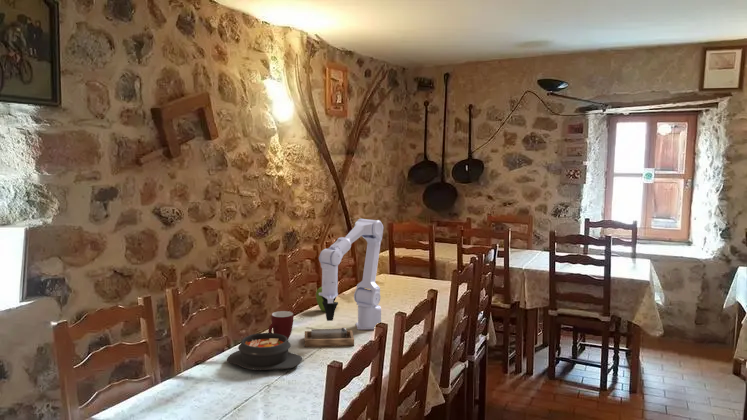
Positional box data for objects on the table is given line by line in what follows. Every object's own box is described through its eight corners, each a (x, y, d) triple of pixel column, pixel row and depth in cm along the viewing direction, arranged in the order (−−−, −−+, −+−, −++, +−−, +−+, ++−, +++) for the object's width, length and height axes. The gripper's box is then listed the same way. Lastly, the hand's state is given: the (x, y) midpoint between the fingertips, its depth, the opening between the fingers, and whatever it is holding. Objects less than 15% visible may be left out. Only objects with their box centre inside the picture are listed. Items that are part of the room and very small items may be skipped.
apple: (322, 315, 233) (323, 289, 232) (311, 310, 239) (312, 285, 238) (338, 311, 239) (339, 286, 238) (327, 307, 245) (327, 282, 244)
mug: (279, 347, 193) (279, 320, 192) (262, 343, 197) (262, 316, 196) (297, 339, 202) (297, 313, 201) (280, 335, 206) (281, 309, 205)
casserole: (216, 371, 171) (216, 345, 170) (242, 350, 189) (242, 327, 188) (290, 379, 165) (290, 353, 165) (309, 358, 184) (310, 334, 183)
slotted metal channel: (345, 339, 201) (346, 327, 201) (346, 341, 199) (346, 329, 199) (310, 339, 200) (310, 327, 199) (310, 341, 198) (310, 329, 197)
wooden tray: (351, 336, 206) (351, 330, 205) (354, 346, 196) (354, 339, 196) (304, 337, 203) (304, 331, 203) (304, 347, 194) (304, 340, 193)
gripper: (318, 277, 204) (318, 311, 205) (319, 286, 190) (318, 323, 191) (337, 276, 205) (336, 311, 206) (339, 286, 191) (338, 323, 192)
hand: (329, 317), depth 199 cm, fingers open, 7 cm apart
